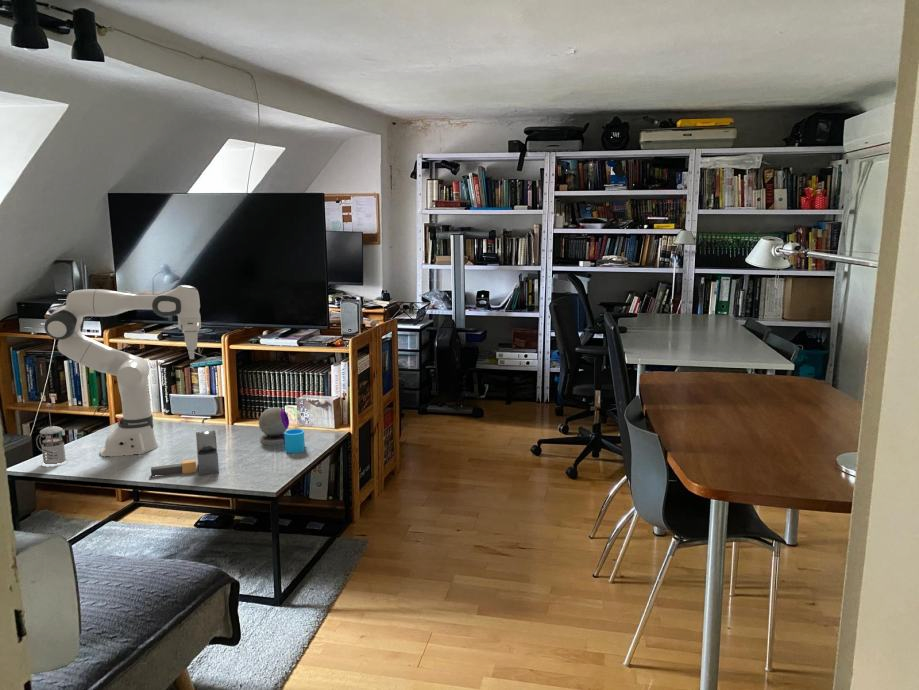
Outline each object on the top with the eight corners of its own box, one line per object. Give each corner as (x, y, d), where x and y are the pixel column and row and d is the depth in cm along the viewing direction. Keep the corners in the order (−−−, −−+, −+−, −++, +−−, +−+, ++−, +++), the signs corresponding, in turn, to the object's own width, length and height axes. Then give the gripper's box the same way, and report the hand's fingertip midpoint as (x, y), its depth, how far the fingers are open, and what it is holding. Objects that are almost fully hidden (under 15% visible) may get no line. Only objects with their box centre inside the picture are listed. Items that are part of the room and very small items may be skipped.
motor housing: (199, 475, 264) (196, 437, 261) (198, 463, 277) (195, 427, 274) (218, 472, 267) (216, 435, 264) (216, 461, 279) (213, 425, 277)
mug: (299, 454, 288) (298, 435, 287) (281, 452, 290) (280, 434, 289) (311, 445, 300) (311, 427, 298) (294, 443, 301) (293, 425, 300)
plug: (151, 477, 262) (150, 467, 261) (151, 474, 266) (150, 464, 265) (196, 471, 268) (195, 461, 267) (195, 468, 272) (195, 458, 271)
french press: (56, 468, 273) (49, 407, 268) (31, 466, 275) (23, 405, 270) (74, 459, 282) (68, 400, 278) (49, 458, 284) (43, 399, 280)
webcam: (286, 444, 301) (284, 411, 298) (256, 445, 300) (254, 411, 297) (292, 435, 313) (290, 403, 311) (263, 436, 313) (261, 404, 310)
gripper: (180, 321, 295) (182, 353, 298) (182, 327, 277) (184, 361, 279) (196, 320, 298) (197, 352, 300) (199, 327, 279) (200, 360, 282)
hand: (191, 356), depth 289 cm, fingers open, 8 cm apart
